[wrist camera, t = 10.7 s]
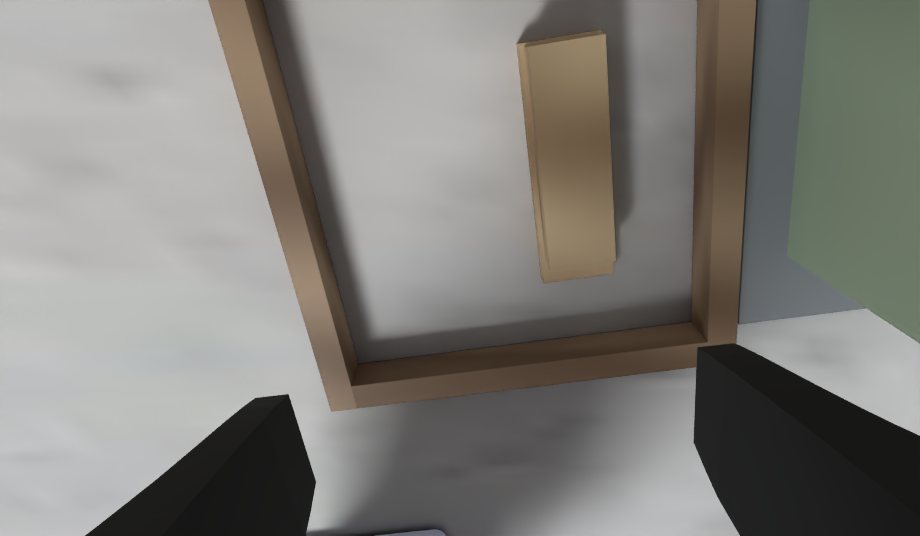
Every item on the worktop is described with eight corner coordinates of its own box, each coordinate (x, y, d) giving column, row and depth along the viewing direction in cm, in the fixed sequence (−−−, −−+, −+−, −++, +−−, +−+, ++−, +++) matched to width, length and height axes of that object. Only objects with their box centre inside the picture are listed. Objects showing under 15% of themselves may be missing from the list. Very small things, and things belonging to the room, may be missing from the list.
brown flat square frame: (716, 341, 21) (734, 362, 19) (339, 387, 22) (331, 411, 20) (738, -164, 15) (766, -185, 13) (209, -68, 16) (185, -78, 14)
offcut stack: (606, 262, 20) (621, 284, 18) (539, 272, 20) (547, 295, 18) (594, 30, 17) (610, 29, 15) (515, 44, 17) (522, 43, 15)
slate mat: (895, 295, 20) (907, 303, 19) (731, 316, 20) (738, 324, 20) (980, -163, 15) (1000, -171, 14) (754, -123, 15) (765, -129, 14)
